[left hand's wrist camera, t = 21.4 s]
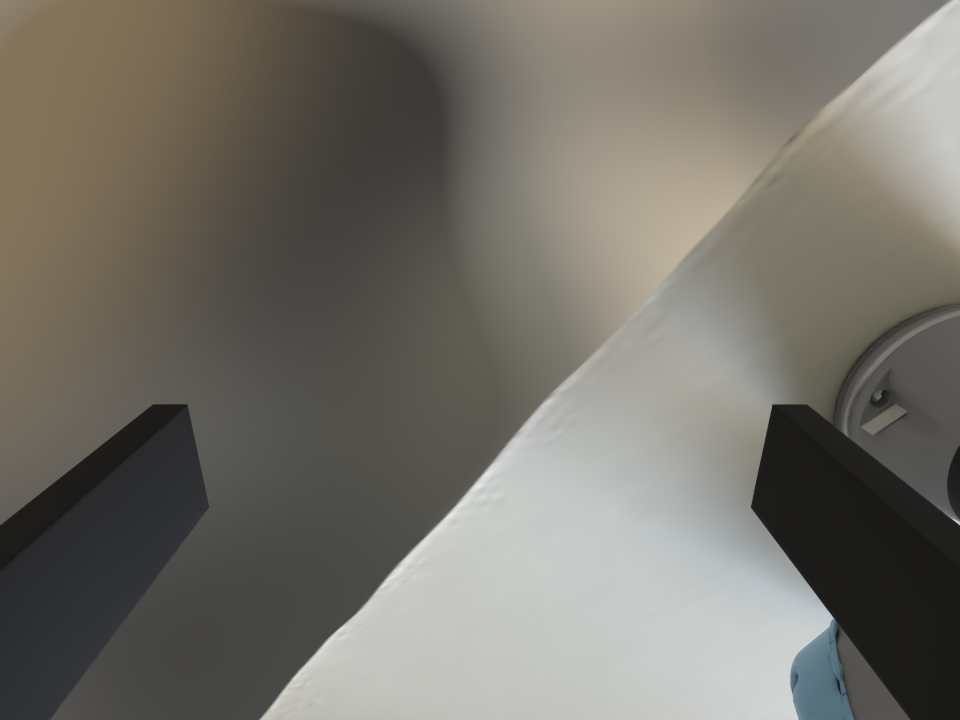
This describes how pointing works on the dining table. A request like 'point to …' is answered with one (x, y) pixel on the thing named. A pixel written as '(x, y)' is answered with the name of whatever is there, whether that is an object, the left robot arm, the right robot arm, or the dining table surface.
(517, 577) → the dining table surface
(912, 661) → the left robot arm
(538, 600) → the dining table surface
